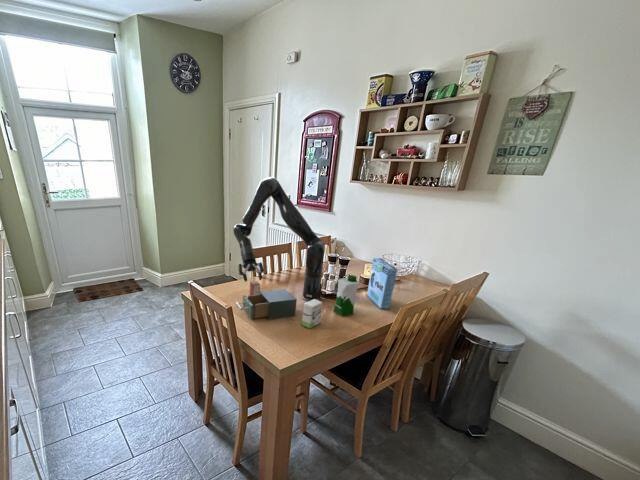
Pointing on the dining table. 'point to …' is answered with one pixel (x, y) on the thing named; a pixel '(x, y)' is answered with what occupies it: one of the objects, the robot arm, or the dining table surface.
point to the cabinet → (280, 303)
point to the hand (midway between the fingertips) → (253, 280)
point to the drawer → (255, 306)
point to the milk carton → (346, 295)
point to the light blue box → (381, 283)
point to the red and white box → (254, 288)
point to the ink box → (312, 313)
